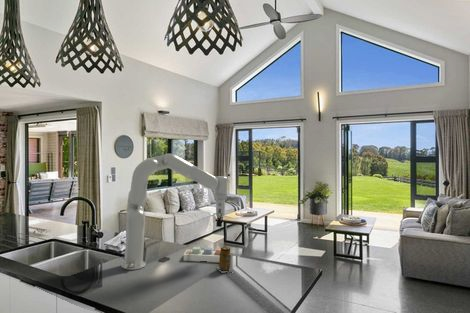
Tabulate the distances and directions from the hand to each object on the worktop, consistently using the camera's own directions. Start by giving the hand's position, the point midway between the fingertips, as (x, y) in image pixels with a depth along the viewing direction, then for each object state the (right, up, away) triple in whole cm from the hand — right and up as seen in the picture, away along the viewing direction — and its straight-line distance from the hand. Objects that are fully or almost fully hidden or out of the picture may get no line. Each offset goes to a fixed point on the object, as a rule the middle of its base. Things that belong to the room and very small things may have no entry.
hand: (219, 224), depth 180 cm
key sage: (-14, -17, -1) cm, 22 cm away
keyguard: (-8, -20, -1) cm, 22 cm away
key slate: (-7, -18, -1) cm, 19 cm away
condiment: (+4, -21, -18) cm, 28 cm away
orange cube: (0, -18, -1) cm, 18 cm away
